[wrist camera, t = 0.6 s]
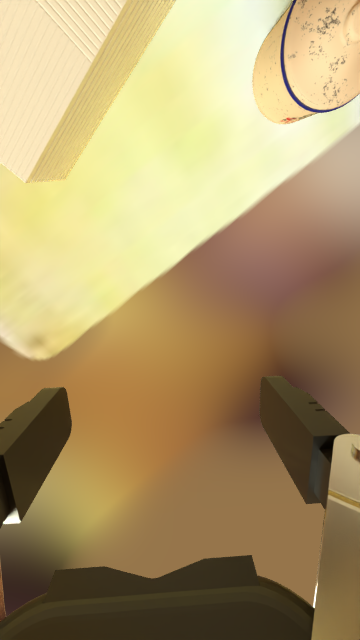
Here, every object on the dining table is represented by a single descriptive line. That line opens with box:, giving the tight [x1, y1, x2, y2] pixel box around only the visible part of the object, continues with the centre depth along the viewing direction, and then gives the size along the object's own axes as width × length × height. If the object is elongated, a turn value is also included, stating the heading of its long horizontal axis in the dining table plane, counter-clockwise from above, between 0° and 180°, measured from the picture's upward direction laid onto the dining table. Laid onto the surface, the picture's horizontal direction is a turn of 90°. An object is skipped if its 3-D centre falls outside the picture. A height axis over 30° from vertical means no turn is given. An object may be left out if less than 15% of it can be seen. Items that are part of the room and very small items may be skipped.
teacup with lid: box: [252, 0, 360, 124], centre depth 22 cm, size 12×9×12 cm
